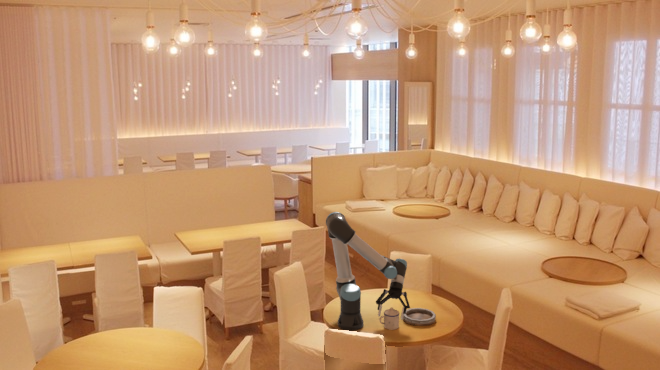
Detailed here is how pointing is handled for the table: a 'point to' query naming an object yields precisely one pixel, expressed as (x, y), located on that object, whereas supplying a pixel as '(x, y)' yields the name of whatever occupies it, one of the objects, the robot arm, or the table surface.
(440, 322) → the table surface
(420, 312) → the round grey tray
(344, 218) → the robot arm
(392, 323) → the teacup with lid
